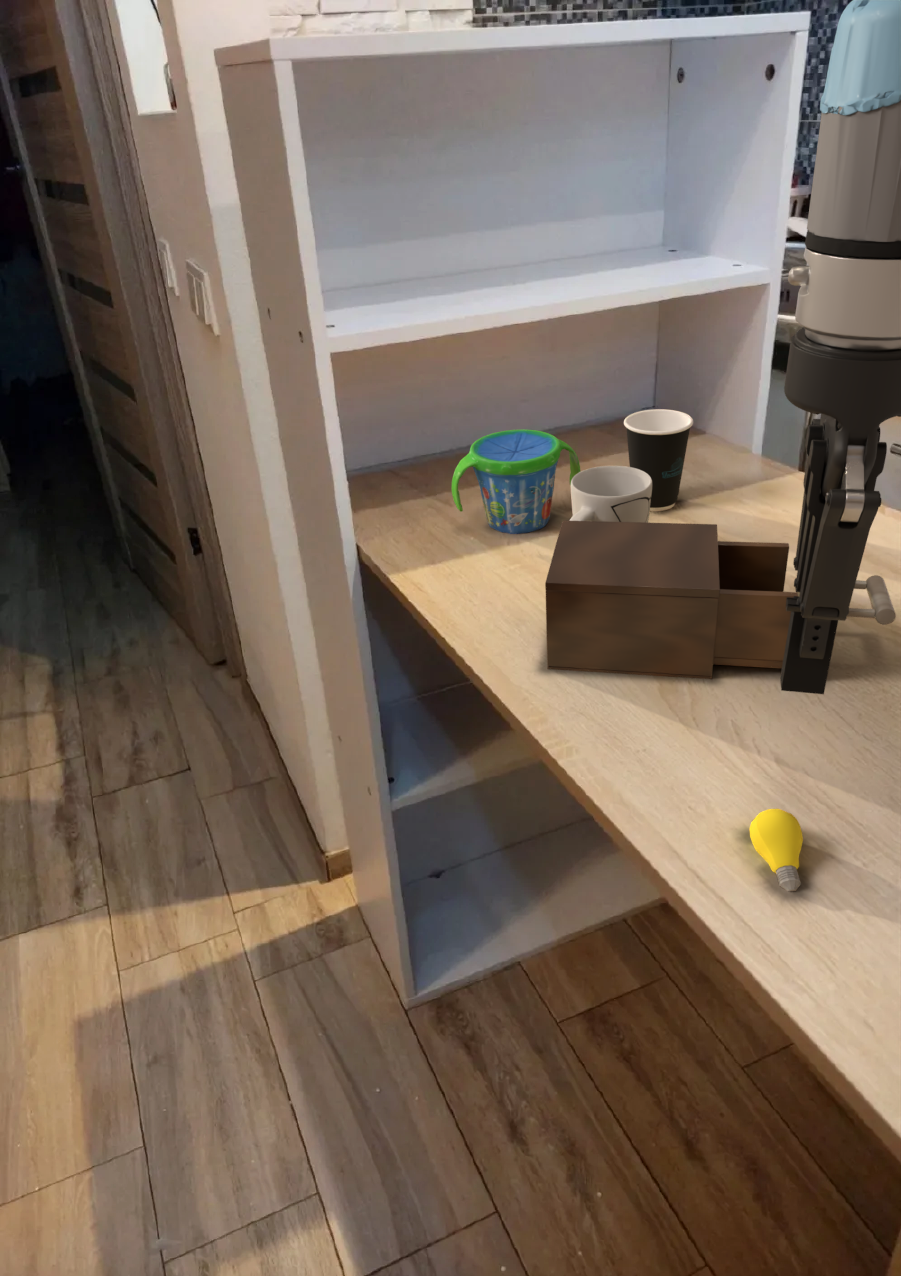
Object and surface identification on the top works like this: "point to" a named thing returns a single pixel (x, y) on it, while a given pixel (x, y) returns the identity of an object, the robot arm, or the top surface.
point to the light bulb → (779, 844)
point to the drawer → (768, 604)
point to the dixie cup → (659, 451)
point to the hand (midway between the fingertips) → (801, 685)
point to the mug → (611, 494)
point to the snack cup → (515, 477)
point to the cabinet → (633, 598)
